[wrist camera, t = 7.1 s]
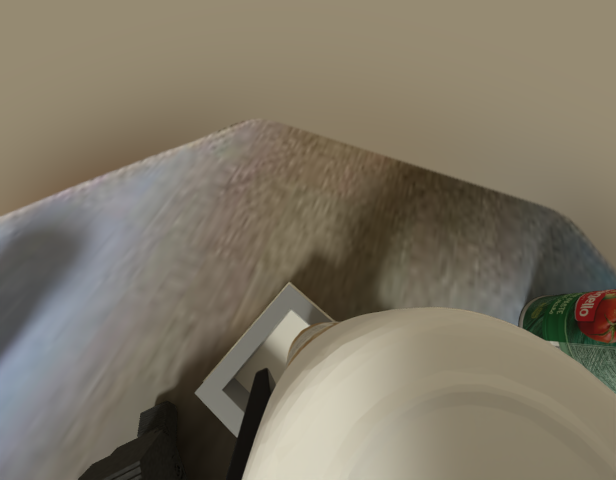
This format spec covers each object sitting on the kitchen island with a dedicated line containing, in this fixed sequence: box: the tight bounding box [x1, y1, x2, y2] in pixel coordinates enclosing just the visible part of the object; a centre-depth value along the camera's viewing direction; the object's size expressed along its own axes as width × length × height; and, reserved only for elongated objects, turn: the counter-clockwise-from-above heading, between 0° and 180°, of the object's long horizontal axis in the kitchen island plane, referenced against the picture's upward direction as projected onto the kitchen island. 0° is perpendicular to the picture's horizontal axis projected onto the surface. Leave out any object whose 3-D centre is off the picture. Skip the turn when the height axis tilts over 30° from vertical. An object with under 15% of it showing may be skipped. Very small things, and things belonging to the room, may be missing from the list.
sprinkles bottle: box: [242, 307, 616, 480], centre depth 8 cm, size 5×5×13 cm
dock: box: [195, 282, 336, 437], centre depth 18 cm, size 10×10×4 cm
